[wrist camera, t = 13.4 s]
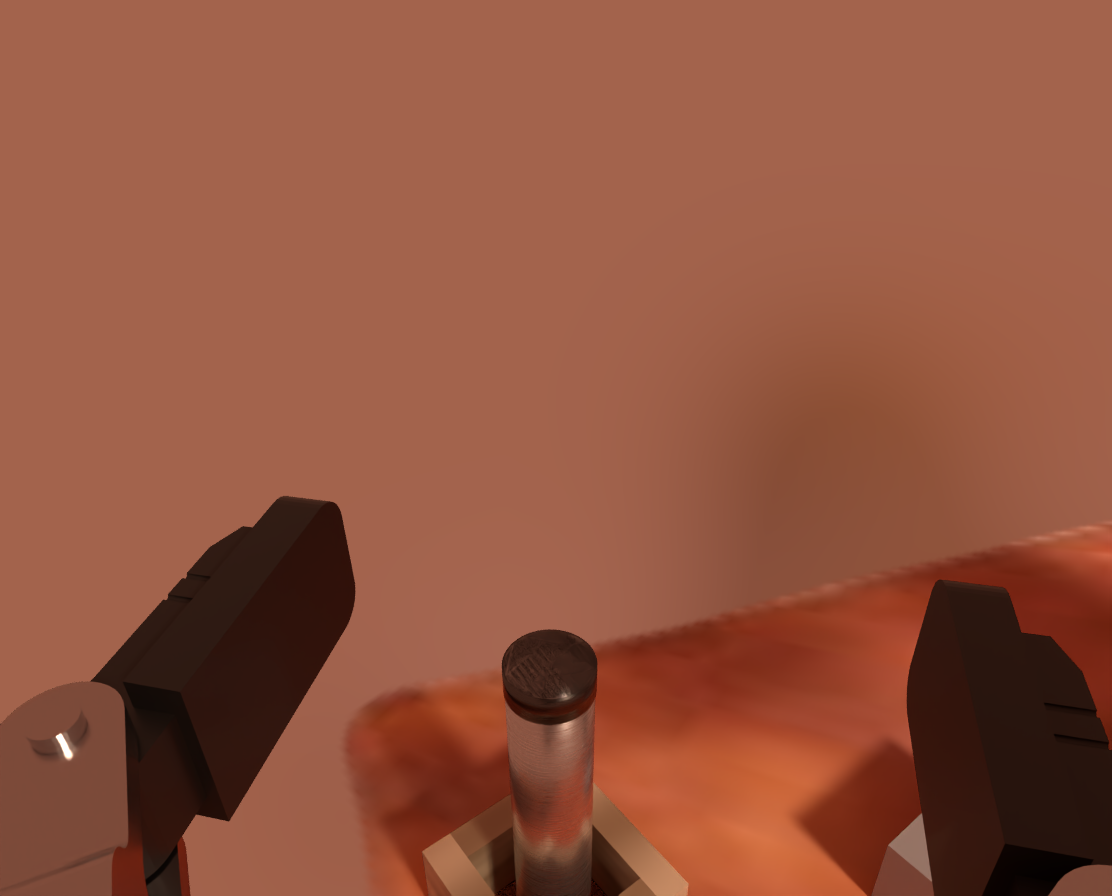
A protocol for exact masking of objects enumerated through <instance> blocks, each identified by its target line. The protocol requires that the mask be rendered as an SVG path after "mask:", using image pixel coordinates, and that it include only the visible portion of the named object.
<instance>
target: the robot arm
mask: <svg viewBox="0 0 1112 896" xmlns="http://www.w3.org/2000/svg"><path fill="white" fill-rule="evenodd" d="M354 601H355V582H354V576H353V571H352V565H351V560H350V555H349V551H348V545H347V540H346V535H345V530H344V525H343V520H342V515H341V511H340V509H339V507H338V506H337V504H335V503H334V502H330V501H320V500H313V499H305V498H297V497H289V496H283V497H280V498H279V499H277V500H276V501H275V502H274V503H273V504H272V505H271V507H270V508H269V509H268V510H267V511H266V513H265V514H264V515H263V516H262V517H261V519H260V520H259V521H258V522H257V523H256V524H255V526H254V527H253V528H252V527H244V526H243V527H241V528H240V529H238V530H237V531H235V532H233V533H232V534H230V535H228V536H227V537H225V538H224V539H222V540H220V541H219V542H217V543H216V544H214V545H212V546H211V547H210V548H209V549H208V550H207V551H206V552H205V553H204V554H203V555H202V557H201V558H200V559H199V560H198V561H197V562H196V563H195V564H194V566H193V567H192V568H191V569H190V570H189V571H188V572H187V577H186V579H184V578H183V579H181V580H180V581H179V583H178V584H177V585H176V586H175V587H174V588H173V589H172V591H171V592H170V593H169V594H168V599H167V600H163V601H162V602H161V603H160V604H159V605H158V606H157V607H156V609H155V610H154V611H153V612H152V613H151V614H150V615H149V616H148V617H147V619H146V620H145V621H144V622H143V623H142V624H141V625H140V626H139V628H138V629H137V630H136V631H135V632H134V633H133V634H132V635H131V637H130V638H129V639H128V640H127V641H126V642H125V643H124V645H123V646H122V647H121V648H120V649H119V650H118V651H117V652H116V654H115V655H114V656H113V657H112V658H111V659H110V660H109V661H108V663H107V664H106V665H105V666H104V667H103V668H102V669H101V670H100V672H99V673H98V674H97V675H96V676H95V677H94V678H93V679H92V680H91V681H90V682H76V683H70V684H66V685H62V686H58V687H55V688H53V689H50V690H47V691H45V692H43V693H41V694H39V695H37V696H35V697H33V698H32V699H30V700H28V701H27V702H25V703H24V704H22V705H21V706H20V707H18V708H17V709H16V710H14V711H13V712H12V713H11V714H10V715H9V716H8V717H7V718H6V719H5V720H4V721H3V722H2V723H1V724H0V896H190V886H189V875H188V864H187V854H186V847H185V842H184V840H183V838H182V835H183V834H184V832H185V830H186V829H187V827H188V826H189V824H190V823H191V821H192V820H193V818H194V817H195V815H202V816H206V817H211V818H216V819H220V820H225V821H230V819H231V817H232V816H233V814H234V812H235V811H236V809H237V807H238V806H239V804H240V802H241V801H242V799H243V797H244V796H245V794H246V793H247V791H248V789H249V787H250V786H251V784H252V783H253V781H254V779H255V777H256V776H257V774H258V772H259V771H260V769H261V768H262V766H263V764H264V763H265V761H266V759H267V757H268V756H269V754H270V753H271V751H272V749H273V748H274V746H275V744H276V743H277V741H278V739H279V738H280V736H281V734H282V733H283V731H284V729H285V728H286V726H287V725H288V723H289V721H290V720H291V718H292V716H293V715H294V713H295V711H296V709H297V708H298V706H299V705H300V703H301V701H302V700H303V698H304V696H305V695H306V693H307V691H308V689H309V688H310V686H311V685H312V683H313V681H314V679H315V678H316V676H317V675H318V673H319V671H320V670H321V668H322V667H323V665H324V663H325V662H326V660H327V658H328V657H329V655H330V653H331V651H332V650H333V648H334V646H335V645H336V643H337V642H338V640H339V638H340V637H341V635H342V633H343V632H344V630H345V628H346V626H347V624H348V622H349V620H350V617H351V614H352V611H353V607H354ZM1096 711H1097V709H1096V707H1095V704H1094V701H1093V699H1092V696H1091V694H1090V691H1089V688H1088V686H1087V683H1086V681H1085V678H1084V675H1083V673H1082V671H1081V670H1080V669H1079V668H1078V667H1077V666H1076V664H1075V663H1074V662H1073V661H1072V660H1071V659H1070V658H1069V657H1068V656H1067V654H1066V653H1065V652H1064V651H1063V650H1062V649H1061V648H1060V647H1059V645H1058V644H1057V643H1056V642H1055V641H1054V640H1053V639H1052V638H1051V637H1050V636H1043V635H1036V634H1028V633H1021V630H1020V627H1019V623H1018V620H1017V617H1016V614H1015V611H1014V608H1013V605H1012V601H1011V598H1010V596H1009V593H1008V592H1007V590H1006V589H1005V588H1003V587H996V586H988V585H980V584H972V583H964V582H956V581H948V580H938V581H937V582H936V583H935V585H934V587H933V590H932V593H931V596H930V599H929V603H928V606H927V610H926V613H925V617H924V620H923V623H922V627H921V630H920V634H919V637H918V641H917V644H916V648H915V651H914V655H913V658H912V662H911V665H910V670H909V676H908V684H907V715H908V722H909V729H910V736H911V743H912V749H913V756H914V763H915V770H916V776H917V783H918V790H919V797H920V804H921V810H922V817H923V824H924V831H925V837H926V844H927V851H928V858H929V865H930V871H931V878H932V885H933V892H934V896H1112V750H1109V748H1108V744H1109V741H1108V738H1107V736H1106V733H1105V730H1104V728H1103V725H1102V722H1101V720H1100V718H1097V717H1096Z"/></svg>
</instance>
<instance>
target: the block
mask: <svg viewBox="0 0 1112 896" xmlns="http://www.w3.org/2000/svg"><path fill="white" fill-rule="evenodd" d="M871 896H934V892H933V885H932V878H931V871H930V865H929V858H928V851H927V844H926V837H925V831H924V824H923V817H922V813H921V814H920V815H919V816H918V817H917V818H916V819H915V820H914V821H913V822H912V823H911V824H910V825H909V826H908V827H907V828H905V829H904V830H903V831H902V832H901V833H900V834H899V835H898V836H897V837H896V838H895V839H894V840H893V841H892V842H891V843H890V844H889V845H888V847H887V850H886V853H885V856H884V859H883V862H882V865H881V868H880V871H879V874H878V877H877V880H876V883H875V886H874V889H873V892H872V895H871Z"/></svg>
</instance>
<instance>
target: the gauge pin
mask: <svg viewBox="0 0 1112 896" xmlns="http://www.w3.org/2000/svg"><path fill="white" fill-rule="evenodd" d="M502 677H503V693H504V698H505V704H506V721H507V738H508V756H509V773H510V790H511V808H512V825H513V842H514V860H515V877H516V894H517V896H591V864H592V817H593V770H594V724H595V697H596V692H597V658H596V655H595V653H594V651H593V649H592V648H591V646H590V645H589V644H588V643H587V642H586V641H584V640H583V639H582V638H580V637H578V636H576V635H574V634H572V633H569V632H565V631H560V630H540V631H536V632H532V633H529V634H526V635H524V636H522V637H520V638H519V639H517V640H516V641H515V642H513V643H512V644H511V645H510V646H509V648H508V649H507V650H506V652H505V654H504V657H503V660H502Z"/></svg>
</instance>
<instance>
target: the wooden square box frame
mask: <svg viewBox="0 0 1112 896" xmlns="http://www.w3.org/2000/svg"><path fill="white" fill-rule="evenodd" d="M422 856H423V862H424V869H425V876H426V882H427V889H428V896H495V895H494V894H496V893H497V892H498V891H500V890H501V889H503V888H504V887H505V886H507V885H508V884H510V883H511V882H512V881H514V880H515V879H516V877H515V860H514V842H513V825H512V808H511V794H510V795H508V796H506V797H505V798H503V799H502V800H500V801H499V802H497V803H496V804H494V805H493V806H491V807H490V808H488V809H486V810H485V811H483V812H482V813H480V814H479V815H477V816H476V817H474V818H473V819H471V820H470V821H468V822H466V823H465V824H463V825H462V826H460V827H459V828H457V829H456V830H454V831H453V832H451V833H450V834H448V835H446V836H445V837H443V838H442V839H440V840H439V841H437V842H436V843H434V844H433V845H431V846H430V847H428V848H427V849H425V850H423V851H422ZM591 878H592V879H593V880H594V881H595V882H596V884H597V885H598V886H599V887H600V888H601V890H602V891H603V892H604V893H605V894H606V895H607V896H687V892H688V883H687V882H686V881H685V880H684V878H683V877H682V876H681V875H680V874H679V873H678V872H677V871H676V870H675V869H674V868H673V867H672V866H671V865H670V863H669V862H668V861H667V860H666V859H665V858H664V857H663V856H662V855H661V854H660V853H659V852H658V851H657V850H656V849H655V847H654V846H653V845H652V844H651V843H650V842H649V841H648V840H647V839H646V838H645V837H644V836H643V835H642V834H641V833H640V831H639V830H638V829H637V828H636V827H635V826H634V825H633V824H632V823H631V822H630V821H629V820H628V819H627V818H626V817H625V815H624V814H623V813H622V812H621V811H620V810H619V809H618V808H617V807H616V806H615V805H614V804H613V803H612V802H611V801H610V799H609V798H608V797H607V796H606V795H605V794H604V793H603V792H602V791H601V790H600V789H599V788H598V787H597V786H596V785H595V783H594V782H593V817H592V864H591Z"/></svg>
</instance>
